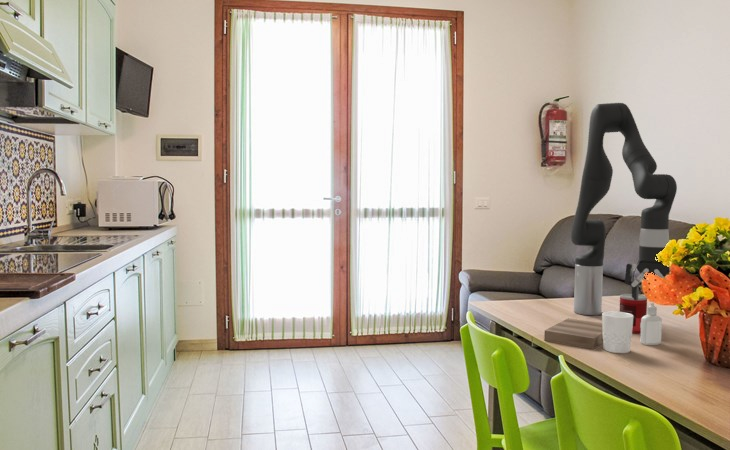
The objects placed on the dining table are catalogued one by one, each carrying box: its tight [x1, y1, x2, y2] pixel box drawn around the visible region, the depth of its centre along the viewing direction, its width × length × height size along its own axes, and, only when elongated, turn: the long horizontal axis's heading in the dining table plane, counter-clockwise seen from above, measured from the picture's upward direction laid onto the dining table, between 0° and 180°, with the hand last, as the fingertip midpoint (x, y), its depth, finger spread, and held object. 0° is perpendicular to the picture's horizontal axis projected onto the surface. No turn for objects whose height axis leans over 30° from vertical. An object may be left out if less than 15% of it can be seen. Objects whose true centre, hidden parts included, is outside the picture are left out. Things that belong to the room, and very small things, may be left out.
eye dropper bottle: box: [639, 301, 663, 346], centre depth 163 cm, size 4×6×12 cm
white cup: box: [601, 310, 634, 354], centre depth 157 cm, size 8×8×10 cm
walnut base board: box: [543, 317, 603, 350], centre depth 170 cm, size 20×14×3 cm
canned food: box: [619, 293, 648, 334], centre depth 178 cm, size 8×8×11 cm
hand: (652, 301), depth 163 cm, fingers open, 8 cm apart
